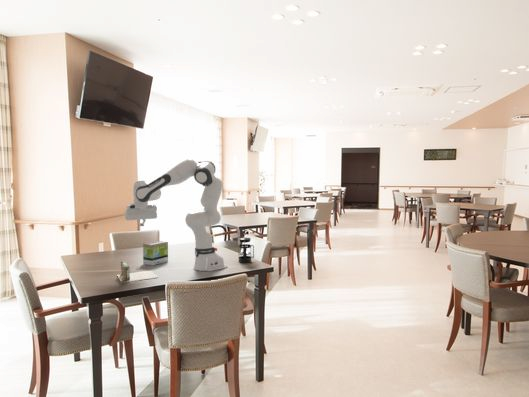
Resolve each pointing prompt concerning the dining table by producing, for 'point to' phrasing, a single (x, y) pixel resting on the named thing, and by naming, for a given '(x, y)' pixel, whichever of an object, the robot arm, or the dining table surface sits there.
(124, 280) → the latch post
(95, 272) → the dining table surface
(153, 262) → the tea box
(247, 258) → the french press
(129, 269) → the gate
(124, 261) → the hinge post
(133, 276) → the mat
